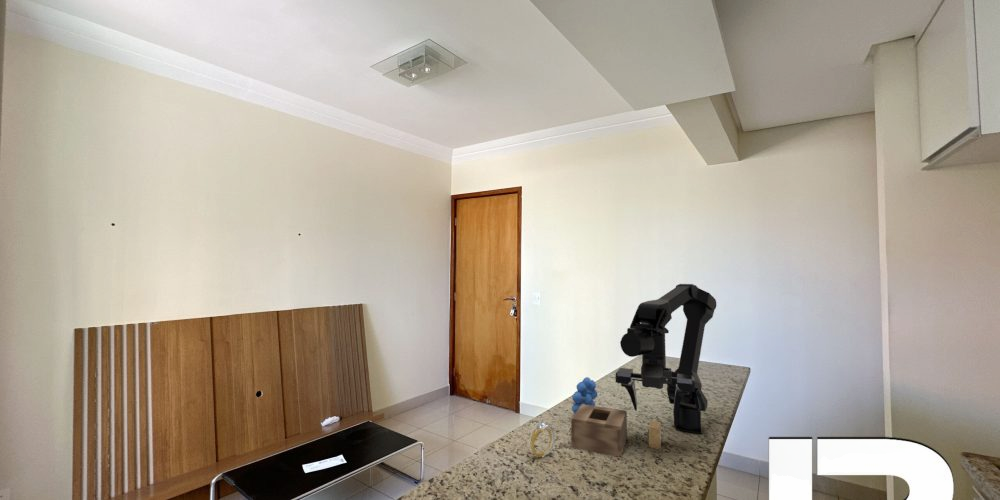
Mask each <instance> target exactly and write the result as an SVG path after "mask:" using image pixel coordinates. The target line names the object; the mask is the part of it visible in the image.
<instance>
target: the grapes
mask: <svg viewBox="0 0 1000 500" xmlns="http://www.w3.org/2000/svg"><path fill="white" fill-rule="evenodd" d="M596 387H597V384H596V382H595V381H594V380H592V379H591V378H590V377H589V376H587V377H584V378H583V379H582V381H580V382H578V383H577V385H576V387H575V388H576V391H575V392H574V393H573V395H572V396H571V397H572V401H573V402H574V403H573V404H572V406H571V410H572V413H573V415H574V414H575V413H576V412H577V410H578V409H579V407H580V406H581V405H582V404H585V405H592V406H596V403H595V399H597V397H598V392H597V390H596Z"/></svg>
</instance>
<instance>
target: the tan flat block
mask: <svg viewBox="0 0 1000 500" xmlns="http://www.w3.org/2000/svg"><path fill="white" fill-rule="evenodd" d="M661 427H662V425H661V421H657V420H649V425H648V448H651V449H656V450H660V449H661V443H662V431H661Z"/></svg>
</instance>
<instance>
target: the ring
mask: <svg viewBox="0 0 1000 500" xmlns="http://www.w3.org/2000/svg"><path fill="white" fill-rule="evenodd" d="M547 423H548V422H547V421H545V422H544V423H543V422H542V421H541V420H540V421H538V422H537V423H536V424H535V425H534V427H532V429H531V432H530V435H529V441H528V445H529V449H530V451H531V453H532V454H533V455H534V456H536V457H538V458H545V457H546V456H547V455H549V454H550V452H551V451H552V450H553V447H554V446H555V440H556V436H555V430H554V429H553V426H550V425H548V424H547ZM544 430H546V431H547V432H548V435H549V444H548V447H547V448H546V449H545V450H544V451H539V452H537V451H536V449H535V442H536V440H537V438H538V437H539V436H540V434H541V433H542V432H543V431H544Z"/></svg>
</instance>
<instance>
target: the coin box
mask: <svg viewBox="0 0 1000 500" xmlns="http://www.w3.org/2000/svg"><path fill="white" fill-rule="evenodd" d="M627 412H628V411H627V410H625V409H617V408H610V407H606V406H605V407H604V406H597V405H595V406H592V405H585V404H582V405H581V406H580V407H579V409H578V410H577V412H576V413H575V414H574V413H573V416H572V417H571V419H570V420H571V422H570V427H571V428H570V431H571V433H570V434H571V435H570V438H571V444H570V445H571V448H574V449H578V450H584V451H588V452H589V451H590V452H594V453H600V454H605V455H610V456H615V457H620V458H621V457H622V455H623V452H624V449H625V446H626V442H627V438H628V413H627Z"/></svg>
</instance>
